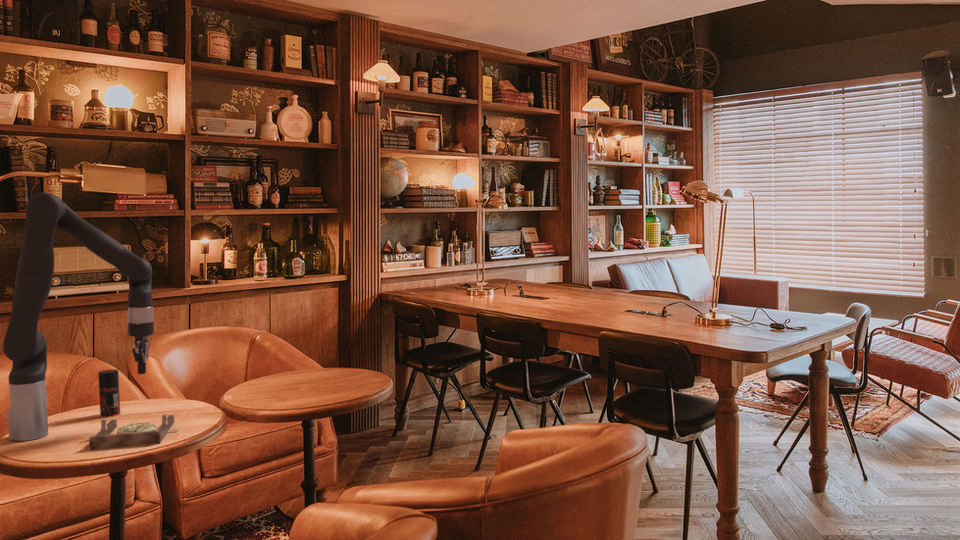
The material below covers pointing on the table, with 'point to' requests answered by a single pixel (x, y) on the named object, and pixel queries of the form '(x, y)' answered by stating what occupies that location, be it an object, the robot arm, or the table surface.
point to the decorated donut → (137, 428)
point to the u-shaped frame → (129, 435)
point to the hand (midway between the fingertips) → (142, 373)
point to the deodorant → (109, 392)
